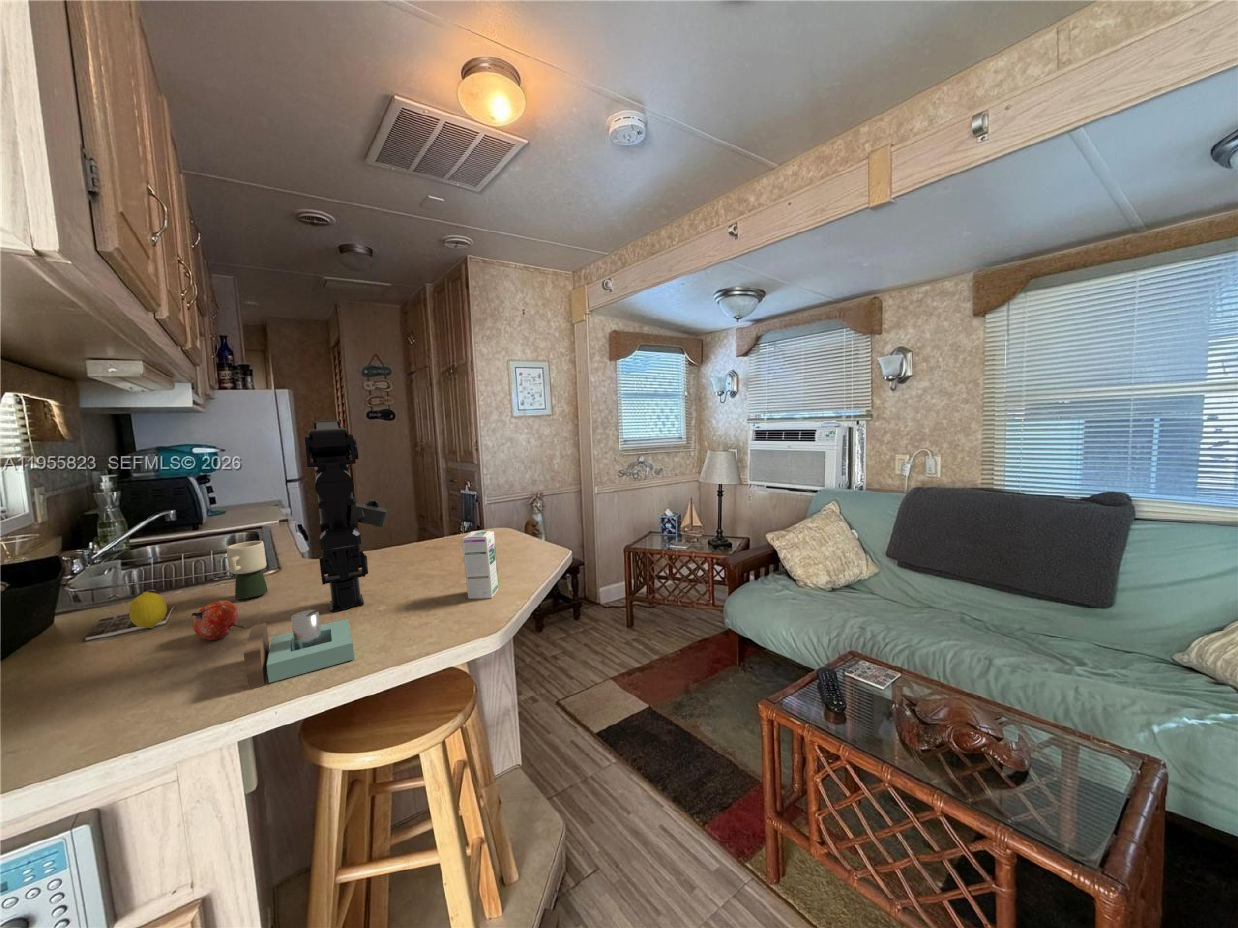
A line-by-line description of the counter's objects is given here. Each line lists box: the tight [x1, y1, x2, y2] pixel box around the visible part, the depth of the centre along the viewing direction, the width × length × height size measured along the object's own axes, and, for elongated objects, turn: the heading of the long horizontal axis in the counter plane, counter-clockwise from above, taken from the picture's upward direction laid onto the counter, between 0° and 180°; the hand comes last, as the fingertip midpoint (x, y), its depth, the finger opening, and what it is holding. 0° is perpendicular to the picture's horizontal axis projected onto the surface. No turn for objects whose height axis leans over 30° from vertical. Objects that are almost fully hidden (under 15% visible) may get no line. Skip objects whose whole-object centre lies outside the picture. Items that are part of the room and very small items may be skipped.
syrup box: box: [461, 530, 500, 600], centre depth 109 cm, size 6×6×14 cm
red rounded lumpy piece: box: [191, 599, 244, 641], centre depth 93 cm, size 7×7×10 cm
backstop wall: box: [243, 622, 270, 691], centre depth 79 cm, size 12×2×6 cm, turn 33°
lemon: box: [128, 591, 168, 629], centre depth 98 cm, size 6×6×8 cm
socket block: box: [267, 618, 355, 684], centre depth 83 cm, size 12×12×3 cm
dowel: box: [290, 609, 322, 650], centre depth 83 cm, size 4×4×8 cm
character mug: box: [225, 540, 269, 600], centre depth 114 cm, size 11×7×13 cm, turn 8°
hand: (343, 572), depth 92 cm, fingers open, 9 cm apart
